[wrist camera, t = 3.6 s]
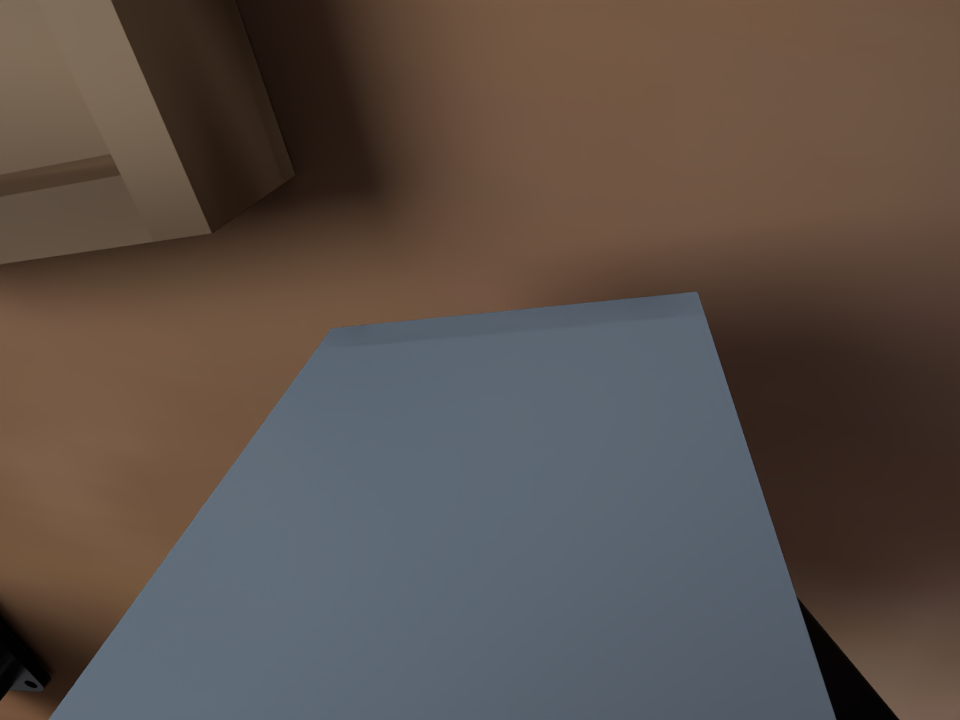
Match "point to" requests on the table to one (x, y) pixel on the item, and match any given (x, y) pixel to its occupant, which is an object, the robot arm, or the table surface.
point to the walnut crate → (128, 124)
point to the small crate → (479, 540)
